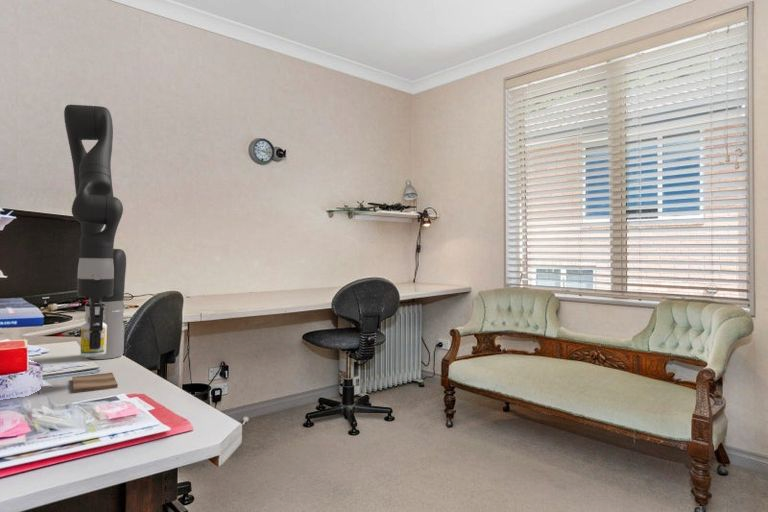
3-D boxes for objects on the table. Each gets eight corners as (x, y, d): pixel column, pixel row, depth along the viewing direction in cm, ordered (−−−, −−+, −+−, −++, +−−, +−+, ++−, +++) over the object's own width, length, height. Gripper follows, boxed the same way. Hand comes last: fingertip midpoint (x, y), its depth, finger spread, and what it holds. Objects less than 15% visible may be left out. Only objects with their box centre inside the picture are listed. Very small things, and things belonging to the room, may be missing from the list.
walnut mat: (72, 380, 116) (72, 376, 116) (112, 375, 121) (112, 372, 121) (73, 392, 105) (73, 389, 105) (117, 387, 110) (117, 384, 110)
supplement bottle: (99, 356, 110) (100, 316, 111) (75, 356, 110) (76, 316, 110) (110, 352, 116) (111, 314, 116) (88, 352, 115) (89, 313, 116)
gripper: (76, 276, 117) (74, 343, 117) (79, 278, 105) (76, 353, 105) (110, 276, 121) (108, 341, 121) (117, 278, 110) (114, 350, 109)
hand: (93, 346), depth 113 cm, fingers closed on supplement bottle, 5 cm apart
